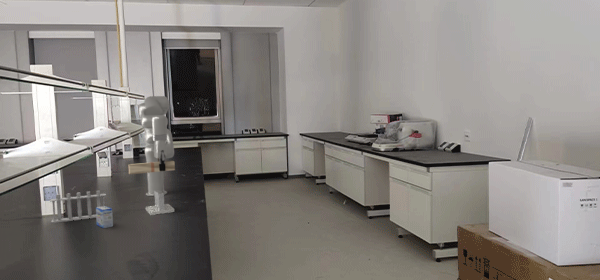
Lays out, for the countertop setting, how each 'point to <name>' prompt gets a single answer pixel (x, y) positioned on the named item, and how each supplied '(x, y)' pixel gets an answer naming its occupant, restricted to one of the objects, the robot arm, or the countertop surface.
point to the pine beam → (149, 167)
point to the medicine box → (104, 217)
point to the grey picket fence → (77, 206)
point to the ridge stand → (159, 205)
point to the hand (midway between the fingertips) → (161, 170)
